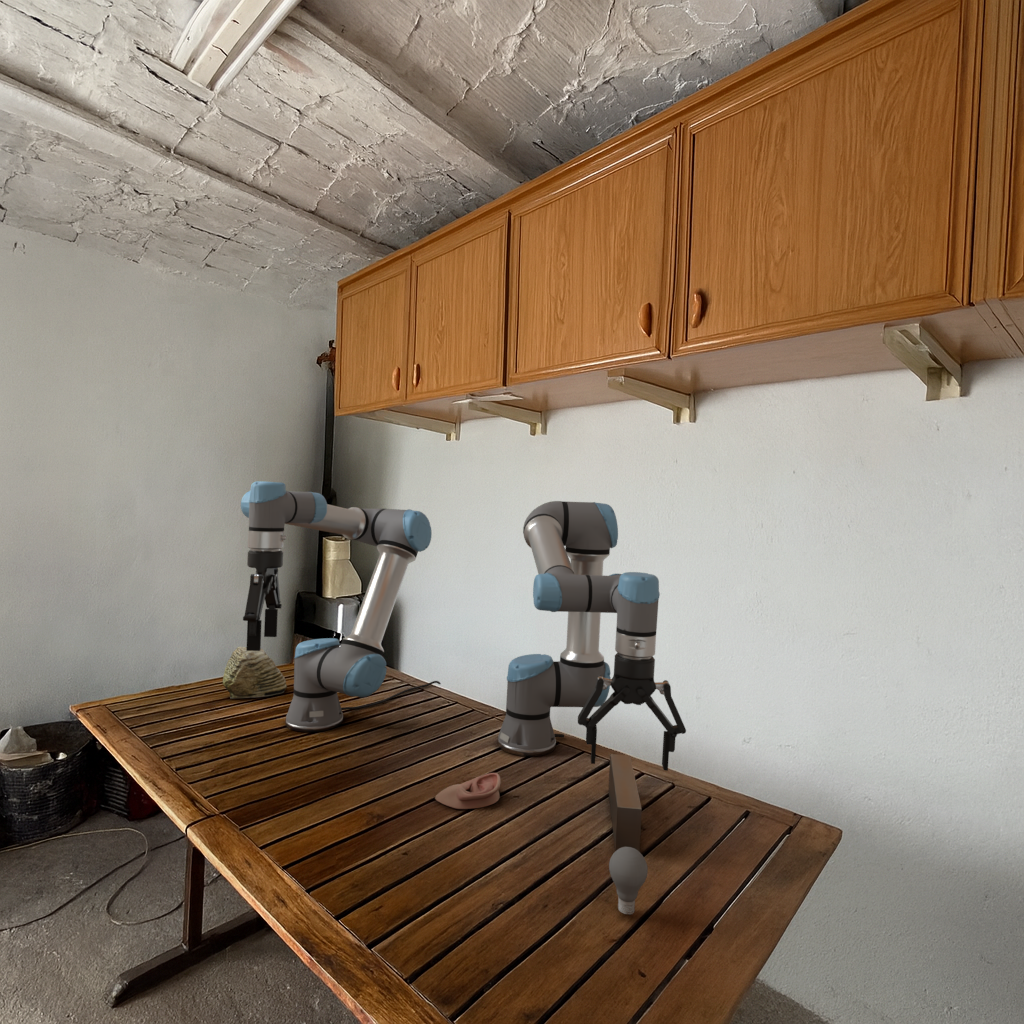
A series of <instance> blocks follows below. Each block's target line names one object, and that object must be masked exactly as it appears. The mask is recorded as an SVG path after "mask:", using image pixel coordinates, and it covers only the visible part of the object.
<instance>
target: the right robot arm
mask: <svg viewBox="0 0 1024 1024" xmlns="http://www.w3.org/2000/svg"><path fill="white" fill-rule="evenodd" d="M522 534H523V538H524V541H525V543H526V545H527V546H528V547H529V548H530V550H531V552H532V556H533V559H534V563H535V566H536V567H535V568H536V570H537V574H536V575H535V576H534V578H533V579H534V580H533V587H532V598H533V606H534V608H535V609H536V610H538V611H545V612H551V613H557V612H558V613H559V612H561V613H562V612H566V613H567V625H566V626H567V627H566V629H567V630H566V648H564V650H563V651H561V652H560V654H559V655H560V656H559V661H557V660H556V661H555V660H553V657H552V656H551V655H549V654H541V653H531V654H523V655H520V656H517V657H514V658H513V659H511V661H510V662H509V663H508V669H507V676H506V681H507V684H506V685H507V686H506V702H505V703H506V704H505V716H504V719H503V721H502V724H501V727H500V730H499V732H498V735H497V746H498V748H499V749H500V750H502V751H504V752H505V753H509V754H510V755H514V756H521V757H540V756H545V755H548V754H551V753H552V752H553V751H554V750H556V742H557V738H560V739H561V738H562V739H563V738H565V734H563V733H555V731H554V728H553V724H552V721H551V708H582V709H581V710H580V712H579V713H578V716H577V724H578V725H579V726H583V727H585V728H586V729H585V730H586V734H585V743H586V745H588V746H590V747H591V749H590V764H591V765H595V764H596V756H597V755H596V754H597V739H598V736H597V735H598V726H597V725H598V724H599V722H600V721H601V720H602V719H603V718H605V716H606V715H607V714H609V712H610V711H611V710H613V709H614V707H616V706H618V704H619V703H623V704H624V705H636V706H642V705H643V704H646V706H647V708H649V710H651V712H652V713H653V715H654V716H655V717H656V718H657V719H658V722H659V723H660V724H661V725H662V726H663V728H664V729H665V730H664V731H663V737H662V738H663V739H662V740H663V741H662V753H661V754H662V755H661V759H662V760H661V766H662V770H663V771H666V772H668V770H669V757H670V753H674V752H675V750H676V738H677V736H678V735H680V734H682V735H683V734H686V732H687V729H686V727H685V724H684V722H683V719H682V717H681V715H680V713H679V710H678V707H677V706H676V704H675V701H674V699H673V697H672V689H671V688H672V686H671V684H670V682H669V680H667V679H666V680H665V679H664V680H663V681H661V682H655V665H656V659H655V657H654V656H655V655H656V645H657V629H658V613H659V599H660V596H661V593H660V581H659V580H660V579H659V578H658V576H656V575H655V574H652V573H647V572H639V571H625V572H623V573H612V574H609V575H604V562H605V560H606V559H607V558H608V557H610V554H611V549H614V548H615V547H617V544H618V540H619V525H618V520H617V516H616V512H615V511H614V509H613V506H611V505H610V504H608V503H602V502H596V501H593V502H591V501H563V500H553V501H552V500H551V501H548V502H544V503H542V504H541V505H538V506H537V507H536V508H534V509H533V510H532V511H531V512H530V513H529V514H528V516H527V517H526V519H525V521H524V522H523V527H522ZM602 613H603V614H604V613H605V614H606V613H607V614H608V613H609V614H616V627H615V629H616V630H615V644H614V650H615V652H616V654H614V664H613V675H612V678H611V667H610V664H609V663H607V662H606V661H605V656H604V655H603V653H601V652H600V637H601V635H600V634H601V616H602V615H601V614H602ZM610 688H611V689H612V690H613V691H612V693H611V694H610ZM656 690H658V691H659V694H661V695H663V696H664V698H665V702H666V704H667V706H668V708H669V710H670V713H671V716H672V717H673V719H674V721H675V724H674V725H673V724H672V723H671V721H670V720H669V718H668V717H667V715H665V713H664V712H663V710H662V709H661V708H660V706H658V704H657V702H656V701H655V700H654V699H653V697H652V695H653V694H654V692H656ZM609 694H610V696H609ZM608 696H609V697H608ZM594 708H597V709H596V710H595V711H594V712H593V713H592V714H591V712H592V710H593V709H594ZM590 714H591V715H590ZM589 715H590V717H589Z"/></svg>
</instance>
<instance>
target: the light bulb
mask: <svg viewBox="0 0 1024 1024" xmlns="http://www.w3.org/2000/svg"><path fill="white" fill-rule="evenodd" d="M648 867H649V866H648V864H647V861H646V858H645V857H644V856H643V854H642V853H641V851H640V852H639V851H638V850H636V849H634V848H632V847H622V848H619V849H618V850H617V851H615V850H614V852H613V854H612V855H611V857H610V858H609V863H608V869H609V874H610V875H609V876H610V877H611V879H612V882H613V883H614V885H615V889H616V894H617V897H618V901H617V902H618V903H617V909H618V911H619V912H620V913H622V914H624V915H633V914H634V913H635V910H636V907H635V906H636V899H637V897H638V896H639V895H638V894H639V891H640V889H641V888H642V886H643V885H644V884H645V882H646V880H647V877H648V873H649V871H648V869H649V868H648Z"/></svg>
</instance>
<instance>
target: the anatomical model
mask: <svg viewBox="0 0 1024 1024" xmlns="http://www.w3.org/2000/svg"><path fill="white" fill-rule="evenodd" d="M501 779H502V778H501V776H500V774H498V772H490V773H486V774H482V775H480V776H477V777H474V778H472V779H470V780H467V781H465V782H463V783H457V784H453V785H452V784H451V785H450V786H447V787H445V788H444V789H442V790H440V791H439V792H438V793H437V794H436V795H435V797H434V800H436V802H438V803H440V804H442V805H444V806H446V807H450V808H451V809H456V810H468V809H469V810H471V809H478V808H484V807H488V806H492V805H493V804H495V803H497V802H498V801H499V800H500V796H501V795H500V791H499V789H500V788H501V783H502V780H501Z"/></svg>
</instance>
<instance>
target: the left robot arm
mask: <svg viewBox="0 0 1024 1024" xmlns="http://www.w3.org/2000/svg"><path fill="white" fill-rule="evenodd" d="M240 510H241V513H242V514H243V516H245V518H248V531H247V532H248V533H247V548H248V549H250V550H248V551H247V563H246V565H247V567H248V568H251V569H255V573H251V574H250V575H249V578H250V579H249V588H248V593H247V599H246V605H245V611H244V616H242V621H244V622H247V625H246V626H247V627H246V647H247V649H246V651H260V649H262V647H261V644H262V621H263V620H262V619H261V616H262V613H263V609H264V604H265V607H266V608H265V609H264V626H263V627H264V631H263V637H264V638H277V637H278V615H279V609H280V610H281V609H282V605H283V604H282V602H281V593H280V584H279V568H282V567H283V565H284V552H283V550H282V549H284V541H285V540H287V536H286V535H284V533H285V532H284V531H285V525H287V526H289V525H290V526H295V527H300V528H304V529H305V528H306V529H311V530H315V531H321V532H327V533H332V534H338V535H342V536H343V537H344V538H345V539H348V540H352V541H356V542H358V543H363V544H366V545H369V546H374V547H376V549H377V551H378V553H379V555H378V558H377V561H376V564H375V566H374V569H373V572H372V575H371V577H370V580H369V583H368V585H367V588H366V591H365V594H364V597H363V600H362V602H361V605H360V608H359V610H358V613H357V616H356V619H355V621H354V624H353V627H352V628H351V633H350V634H349V635H347V636H344V637H343V638H342V639H341V643H340V640H339V639H338V638H335V637H329V638H328V637H326V638H313V639H308V640H304V641H302V642H299V643H298V644H297V645H296V647H295V652H294V653H295V654H294V657H293V659H294V660H293V662H294V663H293V665H294V666H293V695H292V696H293V697H292V699H291V702H290V704H289V708H288V711H287V713H286V715H285V726H286V728H287V729H289V730H291V731H294V732H295V731H296V732H301V733H316V732H325V731H329V730H332V729H335V728H337V727H339V726H340V725H342V723H343V722H344V714H343V711H345V710H346V711H347V710H350V711H351V710H359V709H366V708H369V707H374V706H377V705H380V704H383V703H385V702H388V701H390V700H392V699H394V698H396V697H398V696H400V695H403V694H406V693H408V692H411V691H414V690H418V689H422V688H425V687H429V686H432V685H433V684H438V685H442V683H441V682H440V681H439V680H432V681H430V682H428V683H426V684H422V685H417V686H413V687H410V688H407V689H404V690H402V691H400V692H397V693H395V694H393V695H391V696H389V697H387V698H384V699H382V700H380V701H376V702H372V703H368V704H363V705H358V706H344V707H343V706H341V702H340V699H339V695H338V694H342V695H346V696H349V697H353V698H355V697H357V698H367V697H370V696H372V694H374V693H376V692H377V691H378V690H379V689H380V687H382V684H383V683H384V680H385V678H386V675H387V667H386V666H387V661H386V659H385V657H384V653H385V650H384V648H383V646H382V641H383V639H384V636H385V633H386V630H387V628H388V625H389V621H390V618H391V616H392V613H393V610H394V607H395V604H396V602H397V598H398V596H399V593H400V589H401V588H402V587H401V586H402V584H403V581H404V577H405V575H406V572H407V569H408V566H409V564H411V563H413V562H415V561H416V559H417V557H418V554H419V552H420V553H421V552H423V551H425V550H426V549H428V548H429V546H430V544H431V541H432V536H433V535H432V526H431V522H430V520H429V518H428V517H427V515H426V514H425V513H423V511H420V510H413V509H410V508H409V509H397V508H382V507H381V508H362V507H358V506H357V507H356V506H352V507H348V508H345V507H341V506H337V505H333V504H328V502H327V499H326V498H325V496H324V495H323V494H321V493H320V492H314V491H313V492H312V491H294V490H292V491H291V490H287V487H286V484H285V483H284V482H279V481H262V480H261V481H260V480H259V481H258V480H256V481H254V482H252V483H251V485H250V490H249V491H247V492H245V493H244V494H243V496H242V498H241V501H240Z"/></svg>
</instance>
